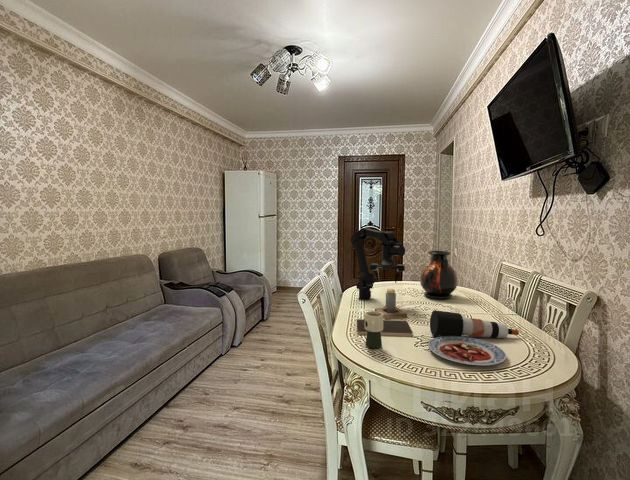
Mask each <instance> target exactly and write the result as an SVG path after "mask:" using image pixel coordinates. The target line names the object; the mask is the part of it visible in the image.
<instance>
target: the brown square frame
mask: <svg viewBox="0 0 630 480" xmlns="http://www.w3.org/2000/svg"><path fill="white" fill-rule="evenodd" d="M374 311H378V312H381V313H383V320H392V319H394V320H395V319H401V318H402V319H406V318H408V313H407V312H406V311H404V310H402V309H400V308H399V307H398V306H396V313H386V307H376V308H374Z"/></svg>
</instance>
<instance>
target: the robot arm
mask: <svg viewBox="0 0 630 480" xmlns="http://www.w3.org/2000/svg"><path fill="white" fill-rule="evenodd" d="M368 237H371V238H374V239H378V241H380V244H379V246H380V247H381V250H382V251H381V265H380V264H379V263H375V262H374V263H370V265H368V263H367V258H366V252H365V245H366V240H367V239H368ZM350 243H351V246H352V247H353V248H354V249H355V253H356V257H357V263H358V266H359V272H360V273H359V278H358V279H359V281H358V282H357V283H356V289H357V290H358V300H366V301H369V300H370V299H371V297H372V291H371V289H373V287H374V284H375V280H377V282H378V283H379V282H380V273H379V269H381V270H383V271H384V270H387V271H391V270H396V271H395V272H396V273H395V279H394V281H395V282H394V283H395V284H396V283H397V281H398V278H399V275H400V273H403V272H405V271H406V269H405V268H406V266H405V264H399V263H398V264H397V265H396V261H395V260H393V256H396V257H404V256H405V253H406V249H405V246H404V244H403V243H399V241H398V239H397V237H396V235H395V233H394V232H393V231H381V230H376V229H372V228H369V227H362V228H360V229H359V231H357V232H355V233H354V234H352V235H351V237H350ZM369 270H371V271H372V272H373V273H372V272H370V271H369ZM374 274H375V275H374ZM374 276H376V279H375V277H374Z"/></svg>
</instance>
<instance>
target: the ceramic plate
mask: <svg viewBox="0 0 630 480" xmlns="http://www.w3.org/2000/svg"><path fill="white" fill-rule="evenodd" d="M428 348H429V350H430V351H431V352H432V353H434V354H435V355H437V356H438V357H440V358H442V359H446V360H449V361H451V362H456V363H459V364H463V365H471V366H494V365H498V364H501V363H503V362H505V360H506V359H507V354H506V352H505V351H504V349H502V348H501V347H499V346H498V345H496V344H494V343H491V342H489V341H486V340H483V339H479V338H474V337H471V336H463V335H462V336H437V337H434V338H432V339H430V340H429V341H428Z"/></svg>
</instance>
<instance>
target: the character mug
mask: <svg viewBox="0 0 630 480" xmlns="http://www.w3.org/2000/svg"><path fill="white" fill-rule="evenodd" d="M364 319H365V323H364V324H365V330H367V331H368V332H367V335H366V339H365V347H367V348H374V349H375V348H381V347H383V342H382V335H381V333H380V331H382V330H383V320H384V318H383V313H381V312H378V311H375V310H368V311H365V312H364Z"/></svg>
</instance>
